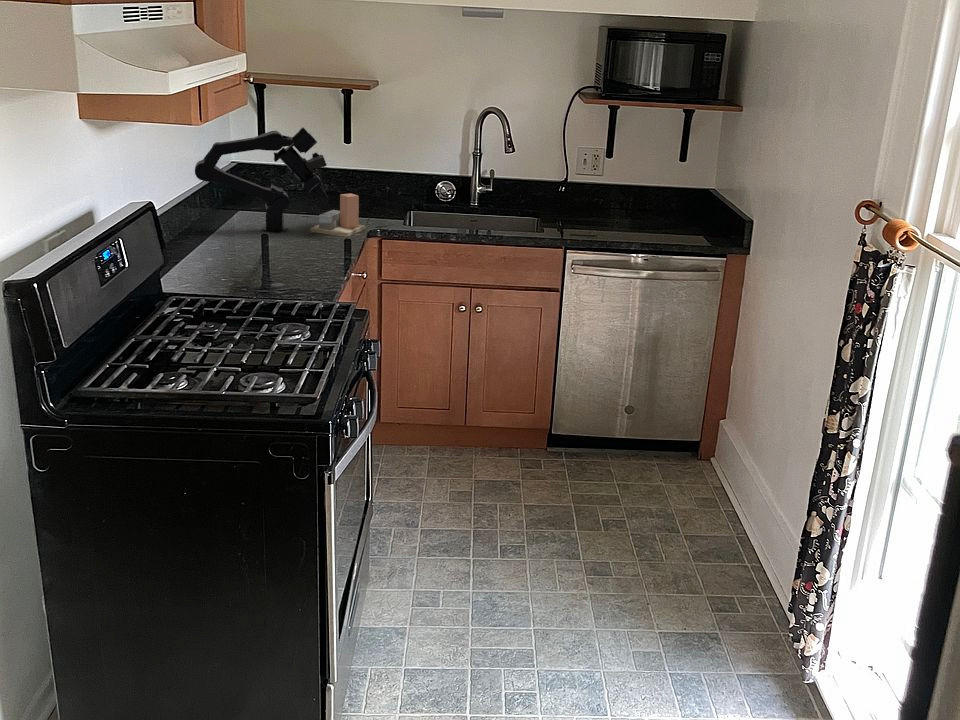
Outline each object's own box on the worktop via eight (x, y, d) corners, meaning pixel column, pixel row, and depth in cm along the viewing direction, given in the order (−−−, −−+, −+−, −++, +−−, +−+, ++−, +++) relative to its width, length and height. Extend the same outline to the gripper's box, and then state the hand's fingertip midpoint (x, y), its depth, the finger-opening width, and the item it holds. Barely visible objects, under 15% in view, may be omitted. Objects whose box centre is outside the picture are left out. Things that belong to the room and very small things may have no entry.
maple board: (346, 236, 316) (347, 220, 314) (310, 231, 320) (310, 215, 318) (365, 229, 328) (365, 213, 326) (329, 223, 332) (330, 208, 330)
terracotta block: (347, 228, 322) (347, 196, 318) (339, 225, 325) (340, 194, 321) (358, 227, 325) (358, 195, 321) (350, 224, 328) (351, 193, 324)
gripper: (315, 152, 303) (346, 187, 310) (311, 141, 320) (341, 175, 327) (289, 174, 304) (322, 209, 311) (287, 162, 321) (317, 195, 328)
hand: (326, 196), depth 319 cm, fingers open, 9 cm apart
